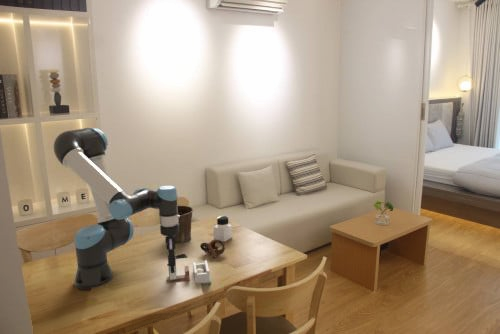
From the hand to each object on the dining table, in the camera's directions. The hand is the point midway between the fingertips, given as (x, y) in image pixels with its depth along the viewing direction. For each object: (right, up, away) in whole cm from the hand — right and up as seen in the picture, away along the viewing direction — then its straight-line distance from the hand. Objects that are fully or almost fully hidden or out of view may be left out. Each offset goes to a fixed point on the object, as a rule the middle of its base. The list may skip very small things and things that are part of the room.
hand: (173, 276), depth 167 cm
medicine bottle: (+18, +8, +46) cm, 50 cm away
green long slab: (0, -3, +1) cm, 3 cm away
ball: (+11, +1, +2) cm, 11 cm away
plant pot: (-6, +7, +46) cm, 47 cm away
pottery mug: (+14, +3, +28) cm, 31 cm away
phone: (0, +1, +19) cm, 19 cm away
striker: (+2, -1, +1) cm, 3 cm away
